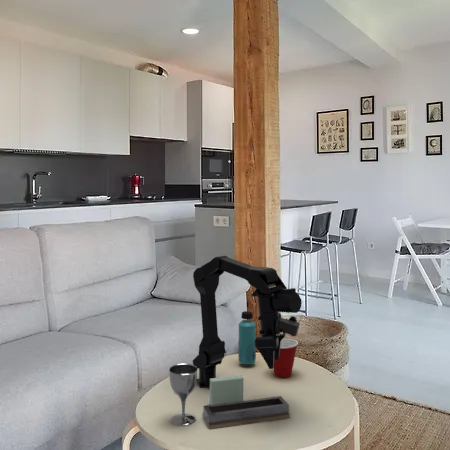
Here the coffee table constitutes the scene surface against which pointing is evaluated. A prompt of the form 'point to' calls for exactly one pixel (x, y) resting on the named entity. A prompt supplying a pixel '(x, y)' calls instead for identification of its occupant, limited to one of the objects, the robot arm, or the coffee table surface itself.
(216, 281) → the robot arm
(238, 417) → the grey long open box
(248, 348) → the beverage bottle
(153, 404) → the coffee table surface
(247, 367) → the coffee table surface
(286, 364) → the plastic cup
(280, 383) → the coffee table surface
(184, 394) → the wine glass
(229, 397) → the pale green rectangular block
